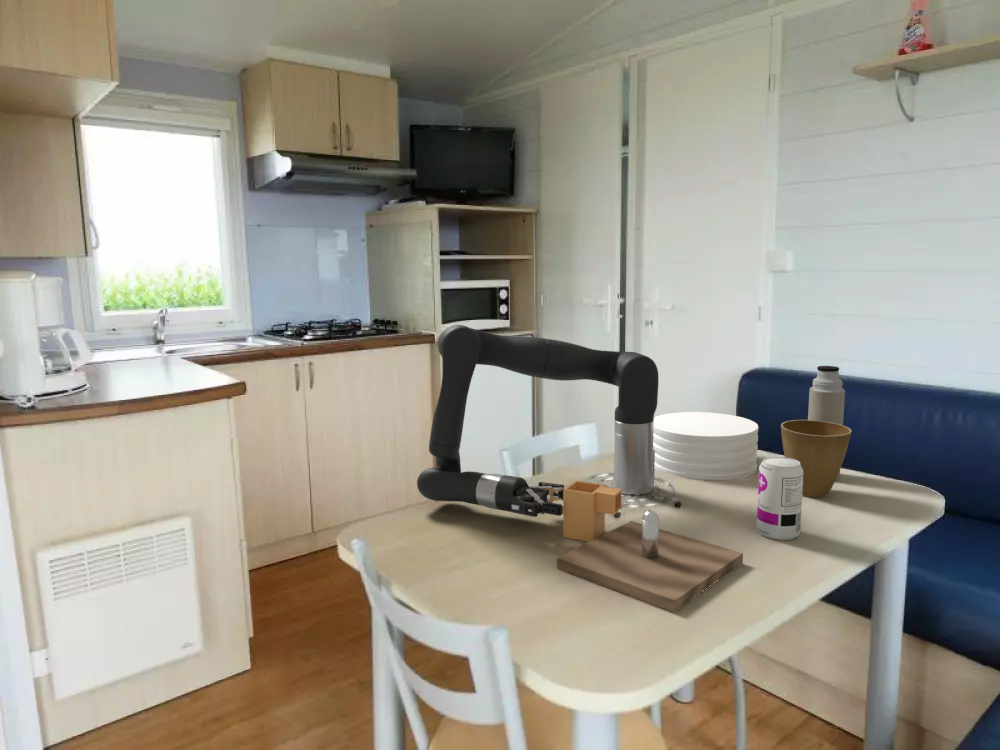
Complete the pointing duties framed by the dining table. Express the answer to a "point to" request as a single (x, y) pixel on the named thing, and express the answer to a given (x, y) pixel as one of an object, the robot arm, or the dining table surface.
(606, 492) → the open-top tan box
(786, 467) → the supplement can
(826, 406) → the thermos bottle
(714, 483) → the dining table surface
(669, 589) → the mount board
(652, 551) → the grey upright cylinder piece
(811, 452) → the plant pot
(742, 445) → the plate stack
